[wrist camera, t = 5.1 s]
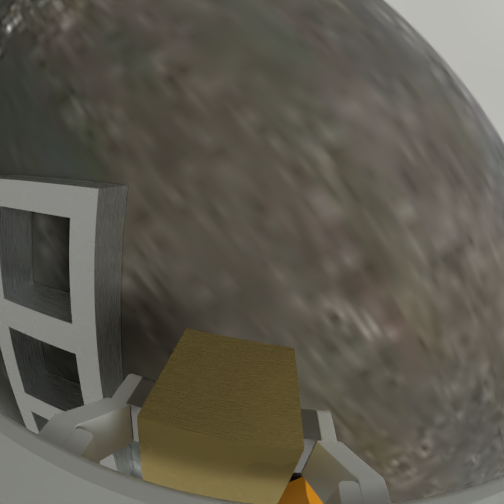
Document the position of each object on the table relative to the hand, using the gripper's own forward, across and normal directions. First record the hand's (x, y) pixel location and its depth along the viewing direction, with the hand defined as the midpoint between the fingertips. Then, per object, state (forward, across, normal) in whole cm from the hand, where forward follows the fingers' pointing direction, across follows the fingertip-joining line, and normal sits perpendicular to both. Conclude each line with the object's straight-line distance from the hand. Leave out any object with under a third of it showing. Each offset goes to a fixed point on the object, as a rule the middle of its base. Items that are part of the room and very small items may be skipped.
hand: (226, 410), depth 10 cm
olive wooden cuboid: (+2, 0, 0) cm, 2 cm away
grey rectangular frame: (+6, -11, -4) cm, 13 cm away
